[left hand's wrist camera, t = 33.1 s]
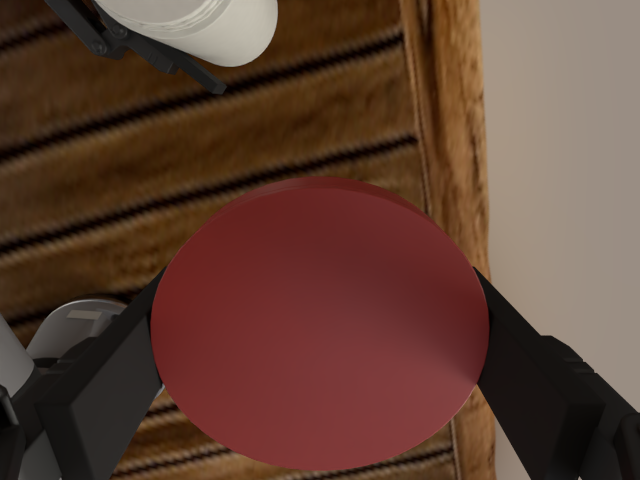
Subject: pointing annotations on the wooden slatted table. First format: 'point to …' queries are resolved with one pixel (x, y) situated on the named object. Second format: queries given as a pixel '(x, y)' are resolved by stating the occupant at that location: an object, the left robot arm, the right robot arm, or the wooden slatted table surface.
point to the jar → (202, 25)
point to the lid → (319, 325)
